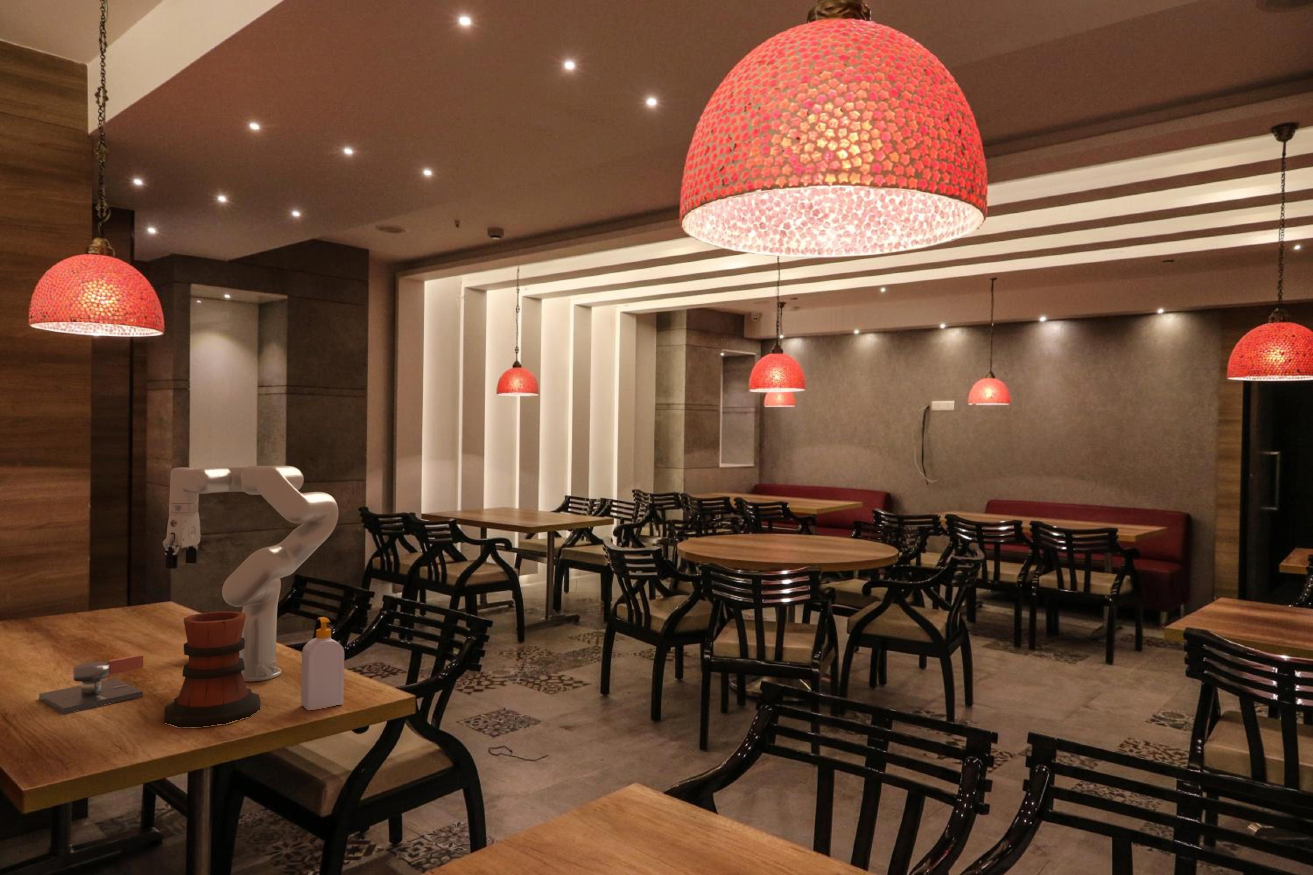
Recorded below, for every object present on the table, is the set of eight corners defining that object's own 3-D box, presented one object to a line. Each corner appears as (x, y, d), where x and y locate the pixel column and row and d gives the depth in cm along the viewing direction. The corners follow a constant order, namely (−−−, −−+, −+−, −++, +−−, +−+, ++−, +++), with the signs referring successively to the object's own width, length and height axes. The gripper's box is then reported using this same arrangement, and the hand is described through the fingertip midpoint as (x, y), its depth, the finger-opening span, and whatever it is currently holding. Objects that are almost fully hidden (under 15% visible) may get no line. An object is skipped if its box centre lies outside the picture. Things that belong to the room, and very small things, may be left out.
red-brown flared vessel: (149, 731, 192) (151, 628, 192) (181, 699, 216) (183, 607, 216) (251, 724, 198) (253, 624, 198) (270, 693, 222) (272, 604, 222)
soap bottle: (334, 698, 218) (336, 613, 219) (343, 705, 213) (345, 618, 213) (299, 704, 213) (301, 617, 213) (307, 711, 207) (309, 622, 207)
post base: (142, 696, 217) (143, 677, 217) (63, 714, 202) (63, 693, 202) (116, 683, 228) (116, 664, 228) (39, 699, 213) (39, 679, 213)
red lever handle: (81, 684, 209) (81, 670, 209) (67, 676, 215) (67, 663, 215) (149, 670, 222) (149, 658, 222) (134, 664, 228) (134, 651, 228)
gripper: (178, 511, 233) (176, 570, 233) (212, 506, 250) (210, 561, 250) (153, 510, 233) (150, 569, 233) (188, 505, 250) (186, 560, 250)
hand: (181, 565), depth 242 cm, fingers open, 9 cm apart
